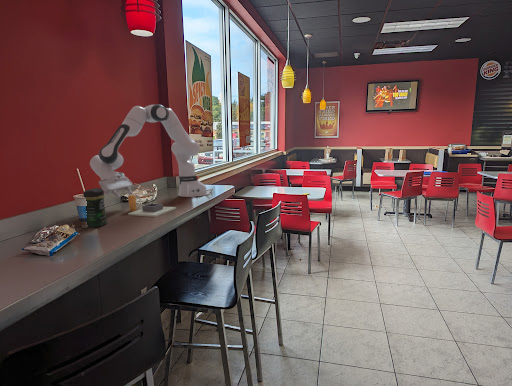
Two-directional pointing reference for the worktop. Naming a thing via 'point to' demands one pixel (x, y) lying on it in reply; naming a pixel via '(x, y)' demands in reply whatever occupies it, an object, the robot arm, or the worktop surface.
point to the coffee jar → (95, 207)
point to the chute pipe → (132, 203)
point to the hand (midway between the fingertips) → (125, 195)
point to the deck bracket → (152, 210)
